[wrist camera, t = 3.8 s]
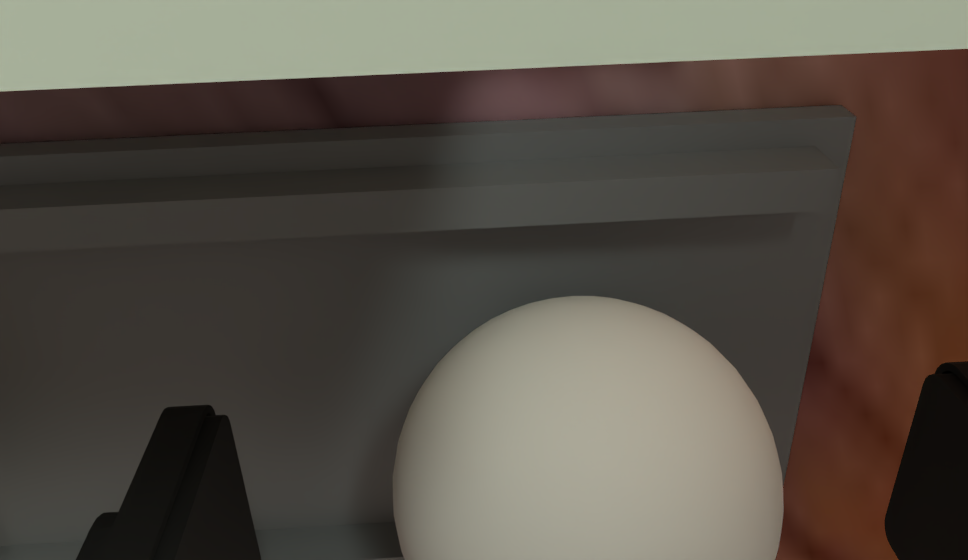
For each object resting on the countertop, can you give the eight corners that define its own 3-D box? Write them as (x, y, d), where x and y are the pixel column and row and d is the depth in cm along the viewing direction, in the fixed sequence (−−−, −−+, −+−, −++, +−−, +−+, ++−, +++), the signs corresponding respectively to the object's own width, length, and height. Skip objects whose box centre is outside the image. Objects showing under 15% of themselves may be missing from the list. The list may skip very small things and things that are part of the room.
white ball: (733, 222, 12) (901, 458, 8) (699, 482, 15) (812, 769, 10) (385, 239, 12) (359, 491, 8) (410, 499, 14) (402, 800, 10)
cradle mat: (841, 104, 12) (883, 137, 11) (763, 518, 16) (789, 573, 15) (-564, 170, 11) (-674, 211, 10) (-277, 583, 15) (-334, 645, 14)
